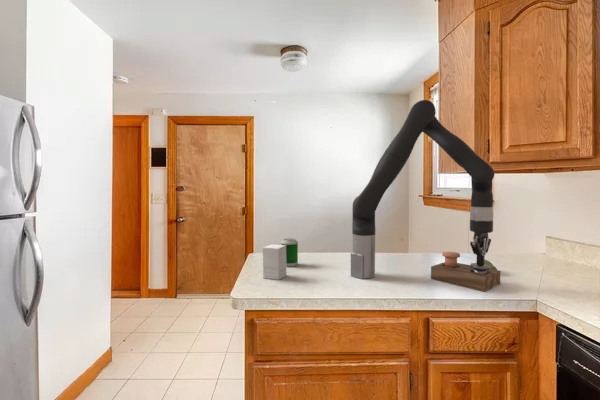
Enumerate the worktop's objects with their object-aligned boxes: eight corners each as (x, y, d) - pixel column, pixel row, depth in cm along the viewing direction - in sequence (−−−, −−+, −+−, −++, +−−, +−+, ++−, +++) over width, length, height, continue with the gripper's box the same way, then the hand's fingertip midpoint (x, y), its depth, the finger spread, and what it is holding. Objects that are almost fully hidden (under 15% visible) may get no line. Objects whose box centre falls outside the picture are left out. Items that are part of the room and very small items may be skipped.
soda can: (297, 267, 147) (297, 241, 147) (281, 267, 147) (280, 241, 147) (297, 263, 155) (297, 238, 154) (282, 263, 155) (282, 238, 154)
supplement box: (287, 275, 134) (287, 245, 133) (278, 280, 127) (278, 248, 127) (271, 273, 137) (271, 243, 137) (262, 278, 131) (262, 247, 130)
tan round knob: (455, 270, 125) (455, 255, 125) (439, 266, 130) (439, 253, 130) (462, 267, 129) (462, 253, 129) (446, 264, 134) (447, 251, 134)
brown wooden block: (484, 291, 113) (485, 277, 113) (430, 278, 129) (431, 266, 129) (500, 283, 122) (500, 270, 122) (447, 272, 138) (448, 261, 138)
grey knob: (485, 283, 117) (485, 268, 116) (467, 279, 122) (467, 264, 121) (492, 280, 121) (493, 265, 121) (474, 276, 126) (474, 262, 125)
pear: (486, 257, 142) (502, 266, 132) (484, 268, 143) (500, 278, 133) (474, 257, 141) (490, 267, 132) (472, 268, 143) (488, 279, 133)
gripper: (478, 216, 127) (477, 260, 128) (462, 219, 119) (461, 266, 120) (499, 218, 121) (498, 264, 122) (484, 221, 113) (483, 270, 114)
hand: (480, 265), depth 121 cm, fingers closed
